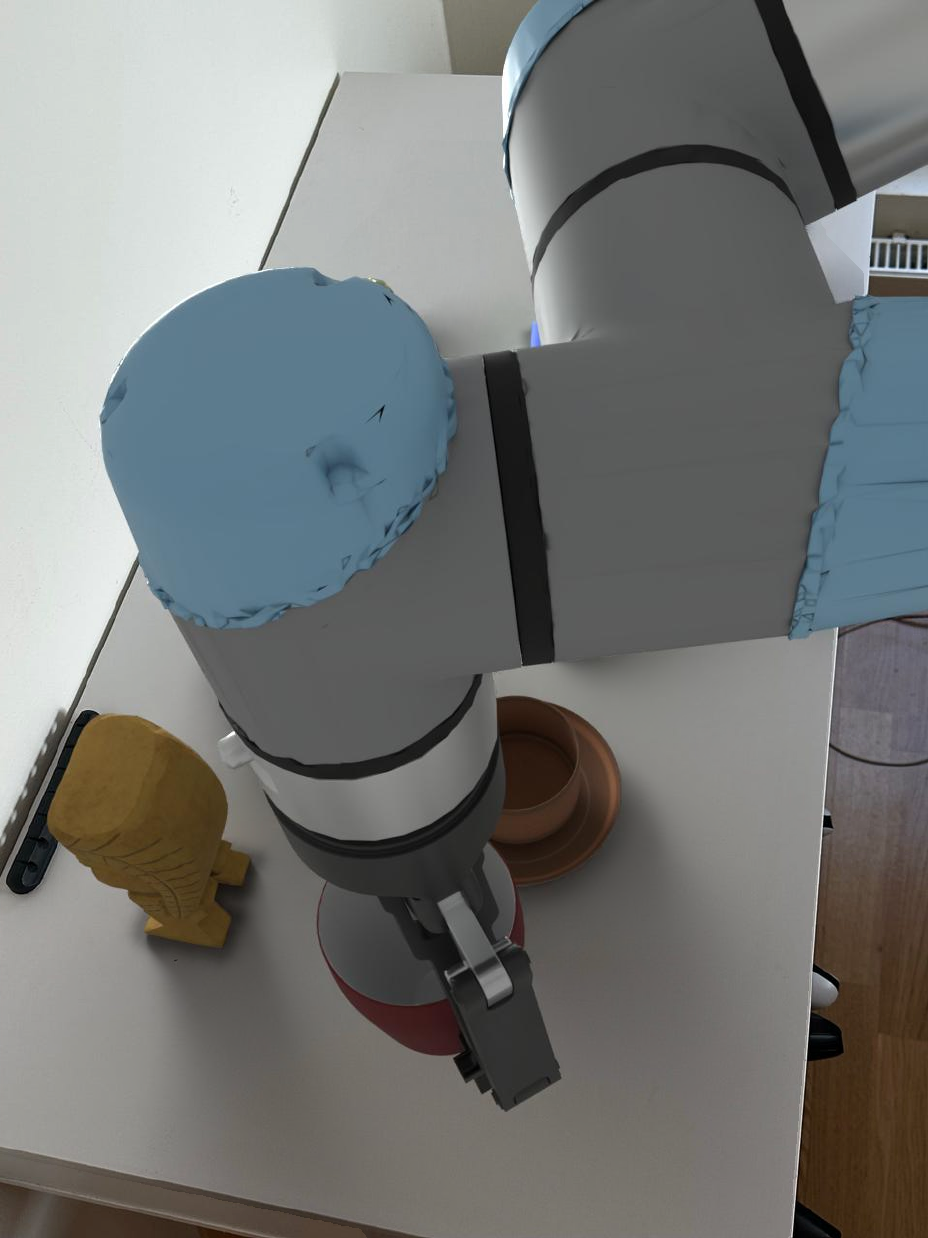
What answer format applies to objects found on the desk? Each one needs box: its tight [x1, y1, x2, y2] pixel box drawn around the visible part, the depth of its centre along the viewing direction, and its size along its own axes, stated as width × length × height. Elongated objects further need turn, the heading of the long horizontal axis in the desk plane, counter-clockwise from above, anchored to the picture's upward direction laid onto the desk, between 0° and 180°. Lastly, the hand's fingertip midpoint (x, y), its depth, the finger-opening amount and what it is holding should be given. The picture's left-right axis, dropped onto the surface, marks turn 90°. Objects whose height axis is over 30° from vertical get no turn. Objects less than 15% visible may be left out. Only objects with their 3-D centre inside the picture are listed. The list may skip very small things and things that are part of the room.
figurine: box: [46, 712, 251, 949], centre depth 64 cm, size 7×7×15 cm
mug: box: [316, 841, 526, 1057], centre depth 52 cm, size 10×8×10 cm
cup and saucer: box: [488, 695, 622, 887], centre depth 70 cm, size 12×12×6 cm
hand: (454, 978), depth 56 cm, fingers closed on mug, 9 cm apart
